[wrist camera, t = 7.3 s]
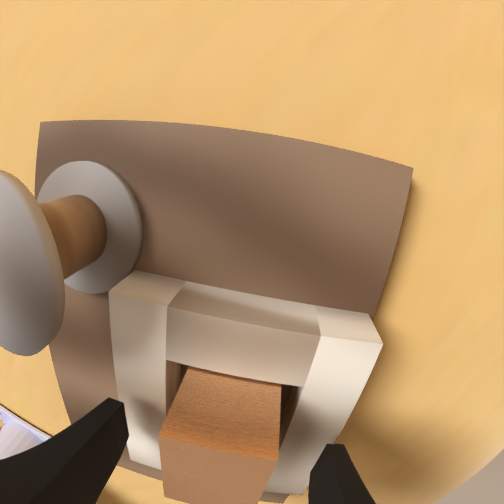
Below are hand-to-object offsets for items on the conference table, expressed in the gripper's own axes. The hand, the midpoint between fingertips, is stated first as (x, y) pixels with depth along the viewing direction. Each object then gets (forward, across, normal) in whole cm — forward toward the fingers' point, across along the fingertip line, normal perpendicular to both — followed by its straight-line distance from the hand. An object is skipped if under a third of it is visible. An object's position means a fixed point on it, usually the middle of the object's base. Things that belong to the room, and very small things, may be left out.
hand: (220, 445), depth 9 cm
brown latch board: (+4, +2, 0) cm, 5 cm away
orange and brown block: (+3, 0, -1) cm, 3 cm away
